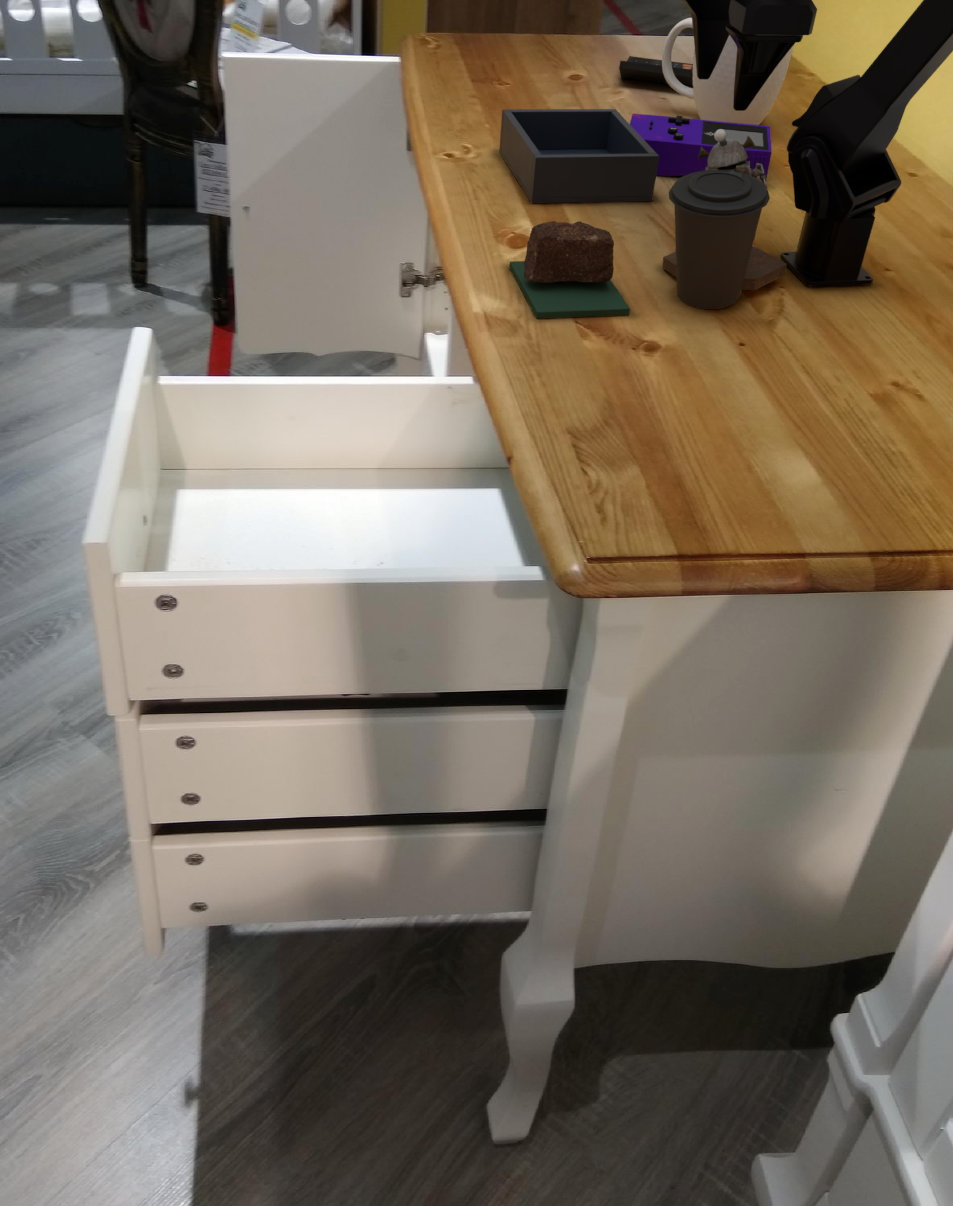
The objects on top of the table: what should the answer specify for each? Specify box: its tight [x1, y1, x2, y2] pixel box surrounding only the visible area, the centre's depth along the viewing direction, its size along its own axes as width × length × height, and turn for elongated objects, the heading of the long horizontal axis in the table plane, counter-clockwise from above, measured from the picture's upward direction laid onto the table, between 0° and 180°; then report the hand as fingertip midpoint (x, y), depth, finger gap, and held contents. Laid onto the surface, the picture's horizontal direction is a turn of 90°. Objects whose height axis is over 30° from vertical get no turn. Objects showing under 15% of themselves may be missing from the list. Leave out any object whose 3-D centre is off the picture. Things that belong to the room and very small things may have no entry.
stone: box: [523, 220, 615, 283], centre depth 98 cm, size 8×3×5 cm, turn 99°
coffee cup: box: [668, 170, 771, 310], centre depth 97 cm, size 8×8×10 cm
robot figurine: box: [662, 129, 788, 291], centre depth 100 cm, size 11×9×12 cm
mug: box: [661, 17, 795, 125], centre depth 135 cm, size 15×11×13 cm
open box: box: [498, 108, 659, 204], centre depth 120 cm, size 15×13×4 cm
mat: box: [508, 260, 631, 320], centre depth 100 cm, size 10×8×1 cm
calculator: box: [618, 55, 693, 88], centre depth 150 cm, size 9×12×3 cm
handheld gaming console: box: [629, 113, 773, 183], centre depth 126 cm, size 9×5×15 cm
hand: (720, 94), depth 106 cm, fingers open, 9 cm apart
